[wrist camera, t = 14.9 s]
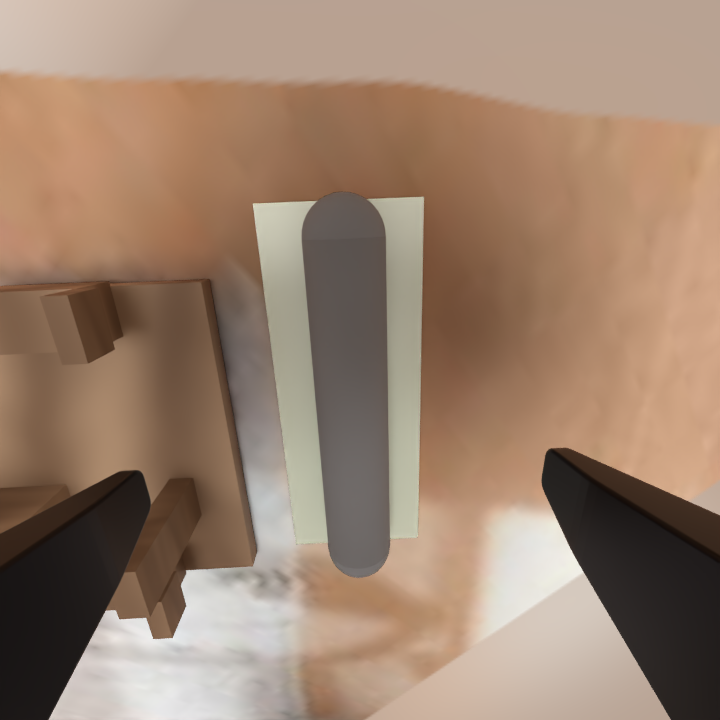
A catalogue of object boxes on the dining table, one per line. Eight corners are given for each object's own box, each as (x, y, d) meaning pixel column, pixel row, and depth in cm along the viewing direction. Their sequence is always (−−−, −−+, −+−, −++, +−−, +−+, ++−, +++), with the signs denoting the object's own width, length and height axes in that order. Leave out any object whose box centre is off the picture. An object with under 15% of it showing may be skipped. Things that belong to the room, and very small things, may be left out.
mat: (421, 197, 16) (423, 196, 15) (416, 529, 22) (417, 537, 21) (256, 204, 16) (252, 203, 15) (297, 536, 22) (296, 544, 21)
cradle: (208, 274, 17) (126, 302, 10) (257, 554, 22) (222, 679, 16) (-182, 291, 16) (-501, 330, 10) (-33, 571, 22) (-181, 705, 16)
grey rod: (377, 194, 15) (393, 185, 12) (384, 537, 21) (396, 588, 18) (298, 196, 15) (295, 188, 12) (328, 545, 21) (332, 597, 18)
